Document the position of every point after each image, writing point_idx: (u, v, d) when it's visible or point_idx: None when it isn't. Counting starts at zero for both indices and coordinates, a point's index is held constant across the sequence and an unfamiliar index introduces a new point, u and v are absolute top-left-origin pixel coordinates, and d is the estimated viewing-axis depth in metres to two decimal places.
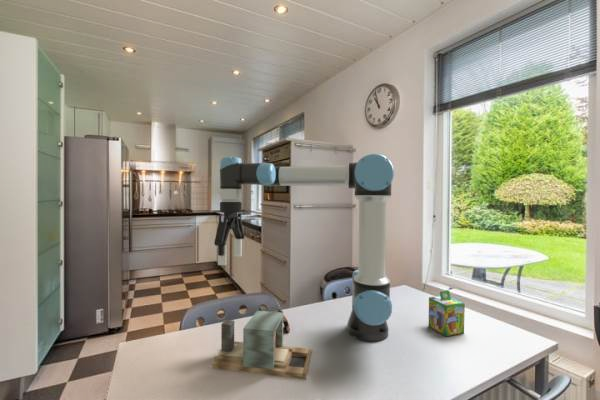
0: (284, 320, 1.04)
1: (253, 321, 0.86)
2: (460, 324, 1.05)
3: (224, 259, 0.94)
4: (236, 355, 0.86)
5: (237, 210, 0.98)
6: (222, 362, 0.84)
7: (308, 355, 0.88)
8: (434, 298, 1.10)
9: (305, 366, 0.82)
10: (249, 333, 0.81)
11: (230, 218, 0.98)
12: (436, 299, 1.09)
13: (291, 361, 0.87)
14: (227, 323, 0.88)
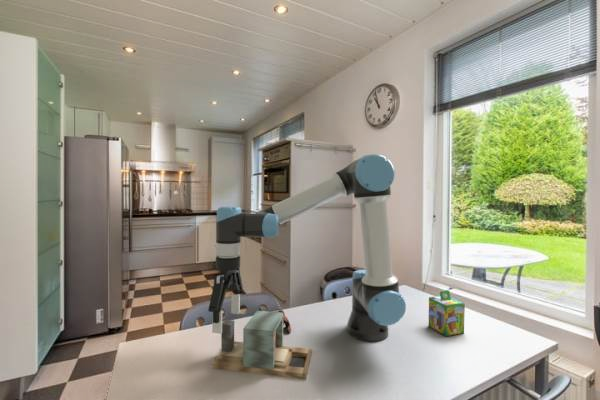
0: (285, 320, 1.04)
1: (253, 321, 0.86)
2: (460, 324, 1.05)
3: (219, 327, 0.82)
4: (236, 355, 0.86)
5: (235, 267, 0.87)
6: (222, 362, 0.84)
7: (308, 355, 0.88)
8: (434, 298, 1.10)
9: (305, 366, 0.82)
10: (249, 333, 0.81)
11: (227, 277, 0.86)
12: (436, 299, 1.09)
13: (291, 361, 0.87)
14: (227, 323, 0.88)
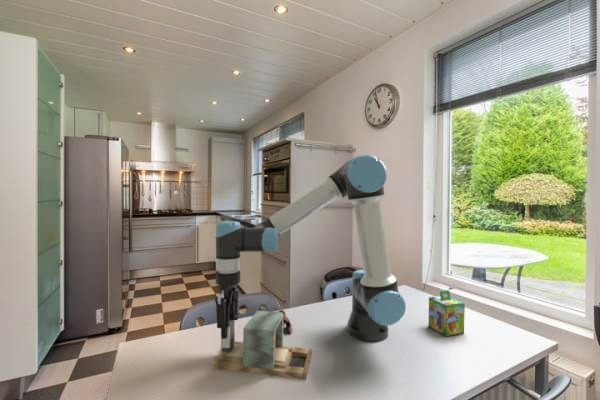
0: (286, 320, 1.04)
1: (253, 321, 0.86)
2: (460, 324, 1.05)
3: (228, 342, 0.87)
4: (236, 355, 0.86)
5: (235, 282, 0.87)
6: (222, 362, 0.84)
7: (308, 355, 0.88)
8: (434, 298, 1.10)
9: (305, 366, 0.82)
10: (249, 333, 0.81)
11: (227, 292, 0.86)
12: (436, 299, 1.09)
13: (291, 361, 0.87)
14: None
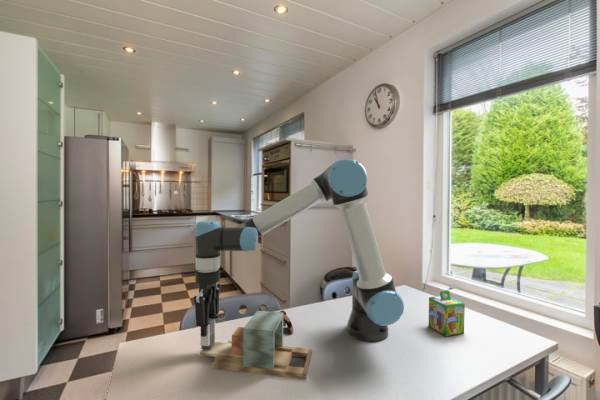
0: (288, 321, 1.04)
1: (253, 321, 0.86)
2: (460, 324, 1.05)
3: (207, 340, 0.88)
4: (215, 353, 0.87)
5: (214, 281, 0.88)
6: (222, 362, 0.84)
7: (308, 355, 0.88)
8: (434, 298, 1.10)
9: (305, 366, 0.82)
10: (249, 333, 0.81)
11: (206, 291, 0.87)
12: (436, 299, 1.09)
13: (291, 361, 0.87)
14: None
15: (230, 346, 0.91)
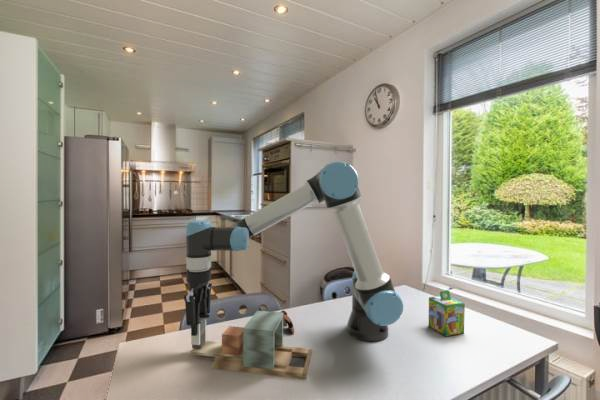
0: (289, 321, 1.03)
1: (253, 321, 0.86)
2: (460, 324, 1.05)
3: (198, 339, 0.88)
4: (206, 352, 0.87)
5: (205, 281, 0.88)
6: (222, 362, 0.84)
7: (308, 355, 0.88)
8: (434, 298, 1.10)
9: (305, 366, 0.82)
10: (249, 333, 0.81)
11: (197, 290, 0.88)
12: (436, 299, 1.09)
13: (291, 361, 0.87)
14: None
15: (221, 345, 0.91)
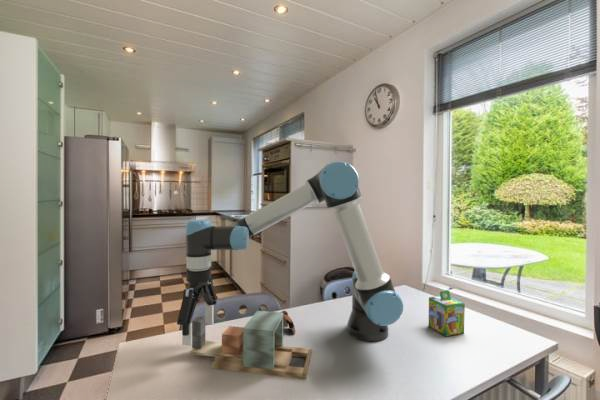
0: (290, 321, 1.03)
1: (253, 321, 0.86)
2: (460, 324, 1.05)
3: (189, 339, 0.84)
4: (206, 352, 0.87)
5: (205, 280, 0.88)
6: (222, 362, 0.84)
7: (308, 355, 0.88)
8: (434, 298, 1.10)
9: (305, 366, 0.82)
10: (249, 333, 0.81)
11: (197, 289, 0.88)
12: (436, 299, 1.09)
13: (291, 361, 0.87)
14: (197, 321, 0.90)
15: (221, 345, 0.91)
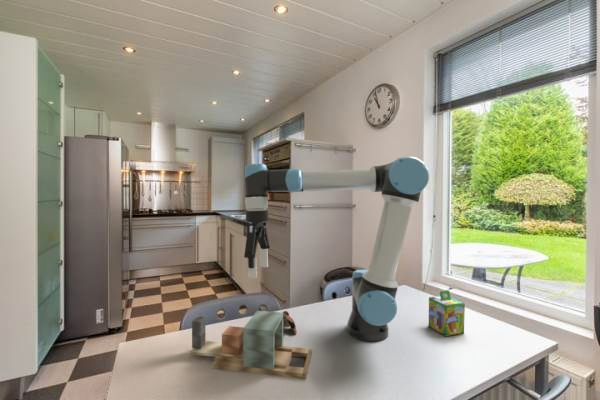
0: (291, 321, 1.03)
1: (253, 321, 0.86)
2: (460, 324, 1.05)
3: (255, 272, 0.89)
4: (206, 352, 0.87)
5: (264, 219, 0.94)
6: (222, 362, 0.84)
7: (308, 355, 0.88)
8: (434, 298, 1.10)
9: (305, 366, 0.82)
10: (249, 333, 0.81)
11: (258, 228, 0.93)
12: (436, 299, 1.09)
13: (291, 361, 0.87)
14: (197, 321, 0.90)
15: (221, 345, 0.91)
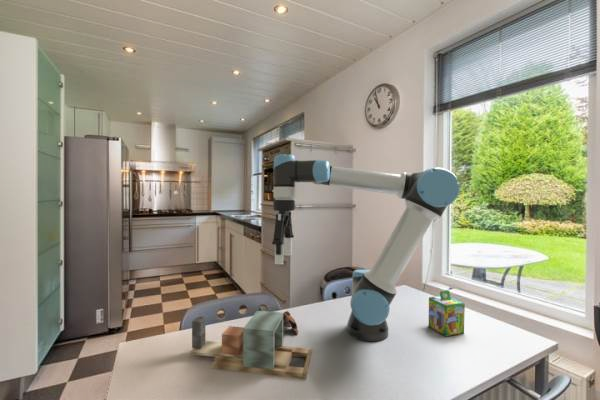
0: (293, 322, 1.03)
1: (253, 321, 0.86)
2: (460, 324, 1.05)
3: (281, 258, 0.92)
4: (206, 352, 0.87)
5: (292, 208, 0.97)
6: (222, 362, 0.84)
7: (308, 355, 0.88)
8: (434, 298, 1.10)
9: (305, 366, 0.82)
10: (249, 333, 0.81)
11: (285, 216, 0.96)
12: (436, 299, 1.09)
13: (291, 361, 0.87)
14: (197, 321, 0.90)
15: (221, 345, 0.91)
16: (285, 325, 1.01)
